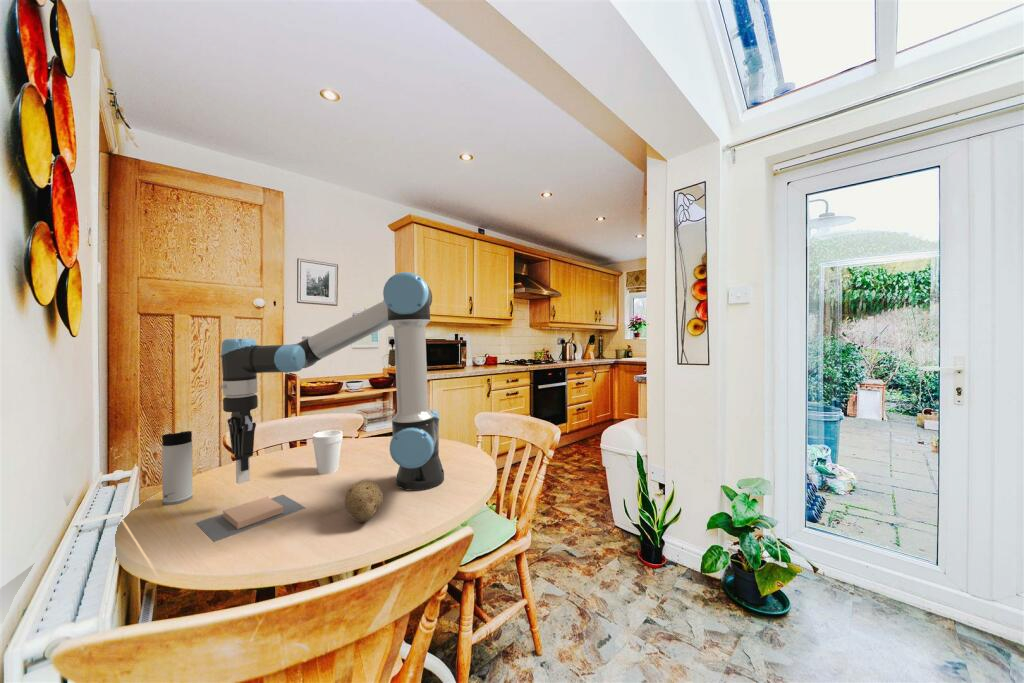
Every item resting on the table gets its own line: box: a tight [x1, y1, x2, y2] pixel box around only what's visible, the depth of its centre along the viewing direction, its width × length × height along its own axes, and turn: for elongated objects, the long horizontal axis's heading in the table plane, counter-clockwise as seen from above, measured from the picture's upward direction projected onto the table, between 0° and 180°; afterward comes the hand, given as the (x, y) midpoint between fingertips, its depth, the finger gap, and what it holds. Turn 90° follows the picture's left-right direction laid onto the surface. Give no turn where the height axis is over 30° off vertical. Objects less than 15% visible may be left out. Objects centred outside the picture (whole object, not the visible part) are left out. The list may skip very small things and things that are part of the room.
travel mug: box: [161, 430, 194, 507], centre depth 102 cm, size 6×7×20 cm
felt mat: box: [194, 494, 306, 543], centre depth 94 cm, size 14×20×1 cm
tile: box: [222, 496, 283, 529], centre depth 94 cm, size 2×10×10 cm
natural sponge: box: [344, 480, 384, 523], centre depth 93 cm, size 9×9×10 cm
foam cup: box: [312, 429, 344, 475], centre depth 126 cm, size 10×9×13 cm
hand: (243, 481), depth 99 cm, fingers closed
